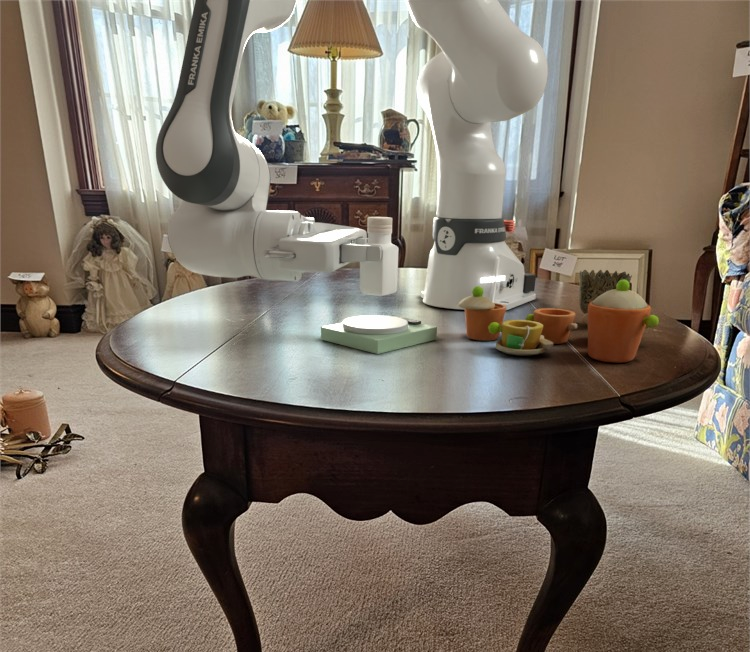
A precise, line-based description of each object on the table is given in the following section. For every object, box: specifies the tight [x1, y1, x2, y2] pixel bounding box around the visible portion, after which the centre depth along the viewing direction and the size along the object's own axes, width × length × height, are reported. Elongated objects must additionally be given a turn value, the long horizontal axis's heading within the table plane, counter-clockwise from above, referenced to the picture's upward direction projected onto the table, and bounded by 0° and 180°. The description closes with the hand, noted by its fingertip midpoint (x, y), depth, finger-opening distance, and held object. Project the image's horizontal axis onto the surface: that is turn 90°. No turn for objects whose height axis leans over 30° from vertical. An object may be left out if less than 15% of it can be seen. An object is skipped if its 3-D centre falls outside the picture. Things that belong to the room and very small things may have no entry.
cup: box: [578, 269, 633, 327], centre depth 99 cm, size 8×7×8 cm
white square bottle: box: [359, 216, 399, 297], centre depth 87 cm, size 4×4×10 cm
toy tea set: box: [458, 280, 660, 364], centre depth 87 cm, size 26×16×10 cm, turn 80°
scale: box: [320, 314, 438, 355], centre depth 91 cm, size 12×11×3 cm
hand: (386, 250), depth 86 cm, fingers closed on white square bottle, 5 cm apart
